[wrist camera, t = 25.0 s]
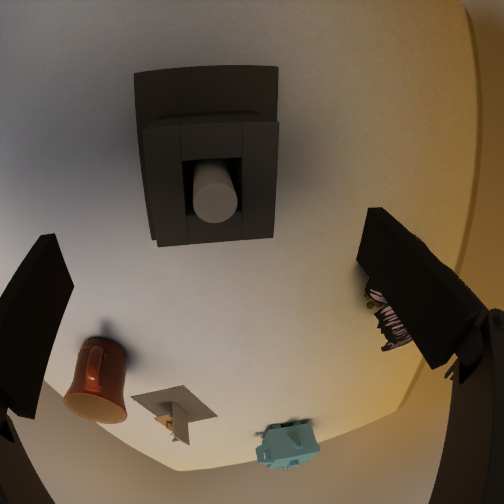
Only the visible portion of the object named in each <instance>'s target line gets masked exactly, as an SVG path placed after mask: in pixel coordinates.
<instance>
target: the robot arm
mask: <svg viewBox="0 0 504 504" xmlns="http://www.w3.org/2000/svg"><path fill="white" fill-rule="evenodd" d="M356 261H357V262H358V263H359V265H360V266H361V267H362V269H363V270H364V271H365V273H366V274H367V275H368V277H369V278H370V279H371V281H372V282H373V283H374V285H375V286H376V287H377V289H378V290H379V292H380V293H381V294H382V296H383V297H384V299H385V300H386V301H387V303H388V304H389V306H390V307H391V308H392V310H393V311H394V313H395V314H396V316H397V317H398V319H399V320H400V321H401V323H402V324H403V326H404V327H405V329H406V330H407V332H408V333H409V335H410V336H411V338H412V339H413V341H414V342H415V344H416V345H417V347H418V349H419V350H420V352H421V353H422V355H423V356H424V358H425V360H426V361H427V363H428V364H429V366H430V367H431V369H432V370H433V369H435V368H438V367H440V366H442V365H444V364H446V363H447V362H448V360H449V359H450V358H451V356H452V355H453V354H454V353H455V354H456V355H457V357H458V358H457V359H456V361H455V362H454V363H453V365H452V366H451V367H450V368H449V370H448V371H447V372H446V373H445V377H444V378H447V377H448V376H449V375H450V374H451V372H453V375H452V377H451V378H450V380H453V385H452V395H451V404H450V412H449V419H448V425H447V431H446V438H445V442H444V448H443V452H442V457H441V461H440V466H439V469H438V473H437V477H436V481H435V484H434V488H433V491H432V494H431V498H430V501H429V504H504V311H502V310H500V309H491V310H490V311H489V310H488V309H487V308H486V307H485V306H484V304H483V303H482V302H481V301H480V300H479V299H478V297H477V296H476V295H475V294H474V293H473V292H472V291H471V290H470V288H468V286H465V283H464V282H463V281H462V280H461V279H459V277H458V276H457V275H456V274H455V272H454V271H453V270H452V269H451V268H449V267H448V266H446V265H445V264H443V263H442V262H441V261H440V260H439V259H438V258H437V257H436V256H435V255H434V254H433V253H432V252H431V251H430V250H429V249H427V248H426V247H425V246H424V245H423V244H422V243H421V242H420V241H419V240H418V239H417V238H416V237H415V236H414V235H413V234H412V233H411V232H409V231H408V230H407V229H406V228H405V227H404V226H403V225H402V224H401V223H399V222H398V221H397V220H396V219H395V218H394V217H393V216H392V215H390V214H389V213H388V212H387V211H386V210H385V209H383V208H382V207H377V208H368V211H367V216H366V220H365V225H364V229H363V234H362V238H361V242H360V246H359V250H358V254H357V258H356ZM73 289H74V284H73V282H72V279H71V277H70V274H69V272H68V269H67V266H66V264H65V261H64V258H63V256H62V253H61V250H60V247H59V244H58V241H57V238H56V235H55V233H53V234H46V235H41V236H40V237H39V238H38V240H37V241H36V242H35V244H34V245H33V247H32V248H31V250H30V251H29V252H28V254H27V255H26V257H25V258H24V260H23V261H22V263H21V264H20V266H19V267H18V269H17V271H16V272H15V274H14V275H13V277H12V279H11V280H10V282H9V283H8V285H7V287H6V289H5V290H4V292H3V294H2V295H1V297H0V504H55V502H54V501H53V499H52V498H51V496H50V495H49V493H48V491H47V490H46V489H45V487H44V485H43V483H42V481H41V480H40V478H39V476H38V474H37V473H36V471H35V469H34V467H33V465H32V463H31V461H30V460H29V458H28V455H27V454H26V452H25V449H24V448H23V445H22V443H21V441H20V439H19V436H18V434H17V432H16V429H15V427H14V425H13V422H12V420H11V419H10V417H9V416H8V415H7V409H8V407H9V408H10V409H11V410H12V411H13V412H14V413H15V414H17V416H20V417H25V418H30V419H35V414H36V409H37V404H38V399H39V395H40V390H41V387H42V382H43V379H44V375H45V371H46V367H47V364H48V360H49V357H50V354H51V350H52V347H53V344H54V341H55V338H56V335H57V332H58V329H59V326H60V323H61V320H62V317H63V314H64V312H65V309H66V306H67V304H68V301H69V299H70V296H71V294H72V291H73Z"/></svg>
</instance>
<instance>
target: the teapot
mask: <svg viewBox="0 0 504 504" xmlns="http://www.w3.org/2000/svg"><path fill="white" fill-rule="evenodd" d="M301 422H302V421H296V422H294V423H293V426H290V427H283V428H281V425H280V424H276V425H273V426H271V427H272V429H269V430H268V431H267V433H266V435H265V437H264V439H263V440H262V445H260V446H258V447H257V448H256V454H257V459H258V464H267V466H268V469H271V468H278V467H283V471H285V470H287V469H288V466H289V467H290V468H293V467H297V466H299V465H300V464H299V463H304V462H308V461H309V460H310V459H311V458H312V457H314V456H315V455H317V454H318V453H319V451H320V446H319V445H318V443H317V442H316V439H315V436H314V433H313V430H312V427H311V423H307V424H301ZM264 454H265V458H266V459H264Z"/></svg>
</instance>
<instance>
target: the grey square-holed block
mask: <svg viewBox="0 0 504 504" xmlns="http://www.w3.org/2000/svg"><path fill="white" fill-rule="evenodd" d="M142 132H143V143H144V153H145V163H146V172H147V180H148V188H149V195H150V202H151V209H152V216H153V222H154V228H155V234H156V240H157V246H158V247H166V246H178V245H189V244H200V243H212V242H224V241H237V240H251V239H263V238H273V234H274V218H275V200H276V181H277V161H278V139H279V122H278V121H276V120H274V119H272V118H270V117H268V116H266V115H215V116H197V117H184V118H173V119H163V120H154V121H152V122H151V123H149V124H148V125H147V126H146V127H145V128H144V129H143V130H142ZM218 158H234V176H235V193H236V196H237V208H236V210H235V212H234V214H233V215H232V216H231V217H230V218H229V219H227V220H226V221H223V222H220V223H209V222H206V221H204V220H202V219H201V218H199V217H198V216H197V214H196V213H195V211H194V207H193V193H187V180H186V166H185V161H189V160H202V159H218Z"/></svg>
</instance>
